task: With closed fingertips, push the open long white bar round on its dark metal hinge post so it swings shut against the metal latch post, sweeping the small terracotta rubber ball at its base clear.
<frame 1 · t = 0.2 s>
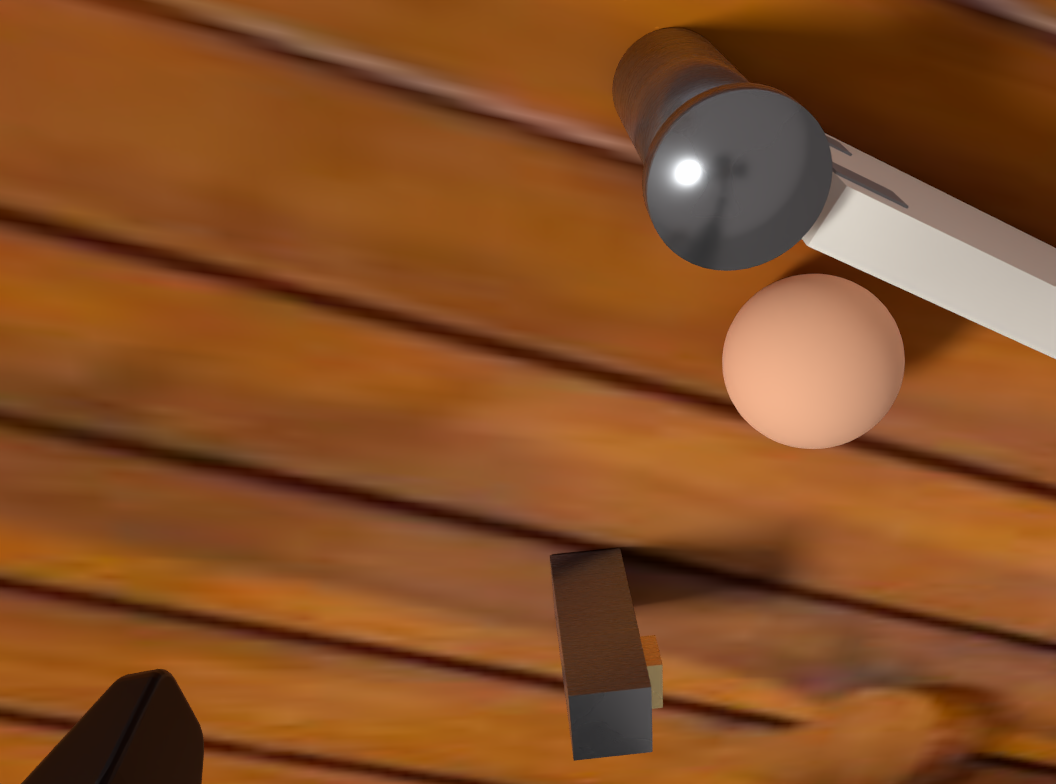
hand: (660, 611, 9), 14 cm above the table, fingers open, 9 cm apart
hinge post: (668, 86, 21), on the table
latch post: (587, 583, 28), on the table
long white bar: (1018, 280, 21), point 3 cm above the table, hinge at 60.0°
ball: (785, 320, 24), on the table
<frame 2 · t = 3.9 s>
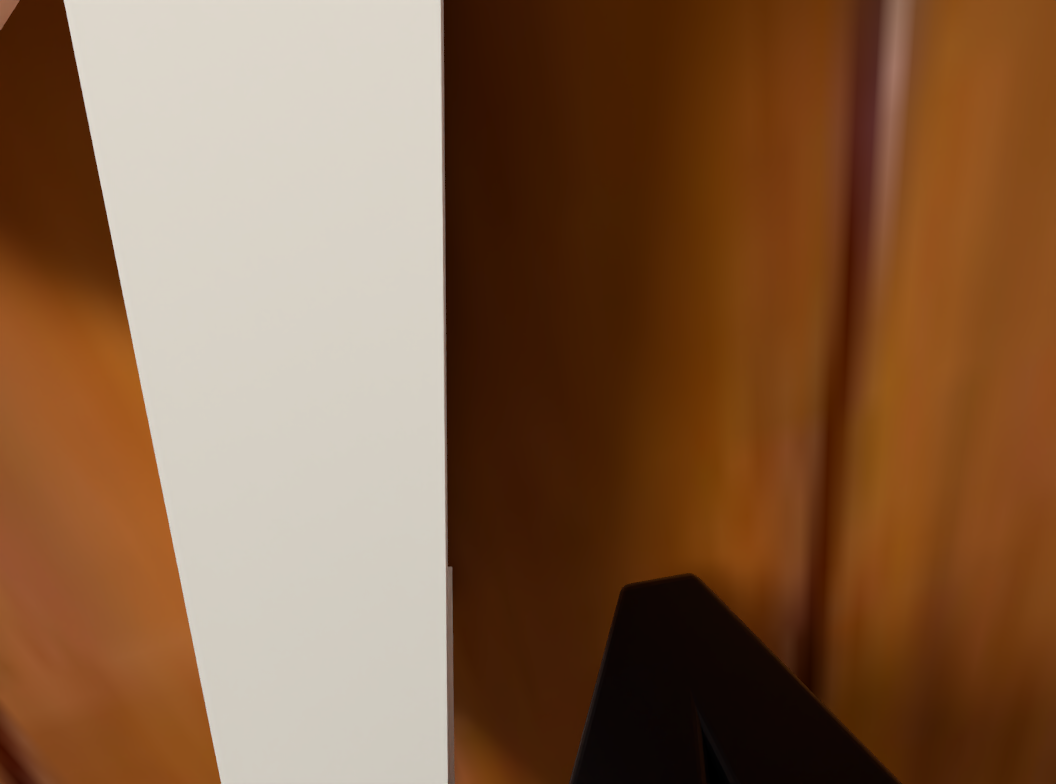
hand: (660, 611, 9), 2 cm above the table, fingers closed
long white bar: (351, 247, 6), point 3 cm above the table, hinge at 59.8°, touching gripper
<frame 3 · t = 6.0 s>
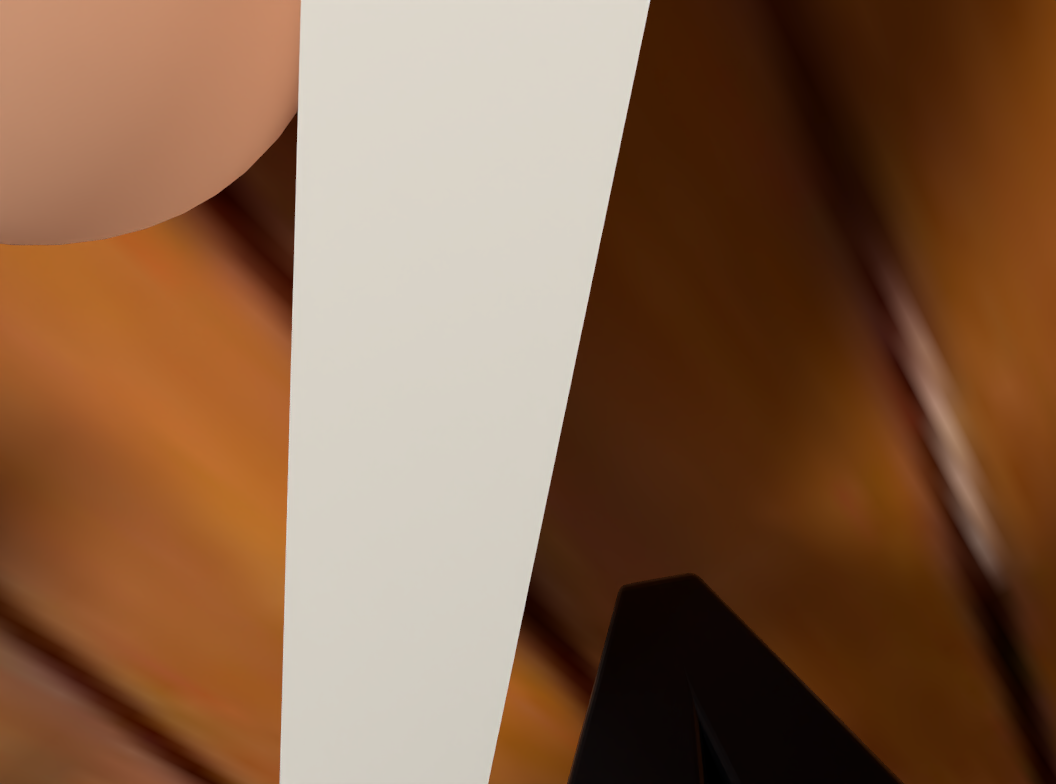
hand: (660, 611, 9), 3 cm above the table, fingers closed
long white bar: (431, 140, 6), point 3 cm above the table, hinge at 30.7°, touching gripper
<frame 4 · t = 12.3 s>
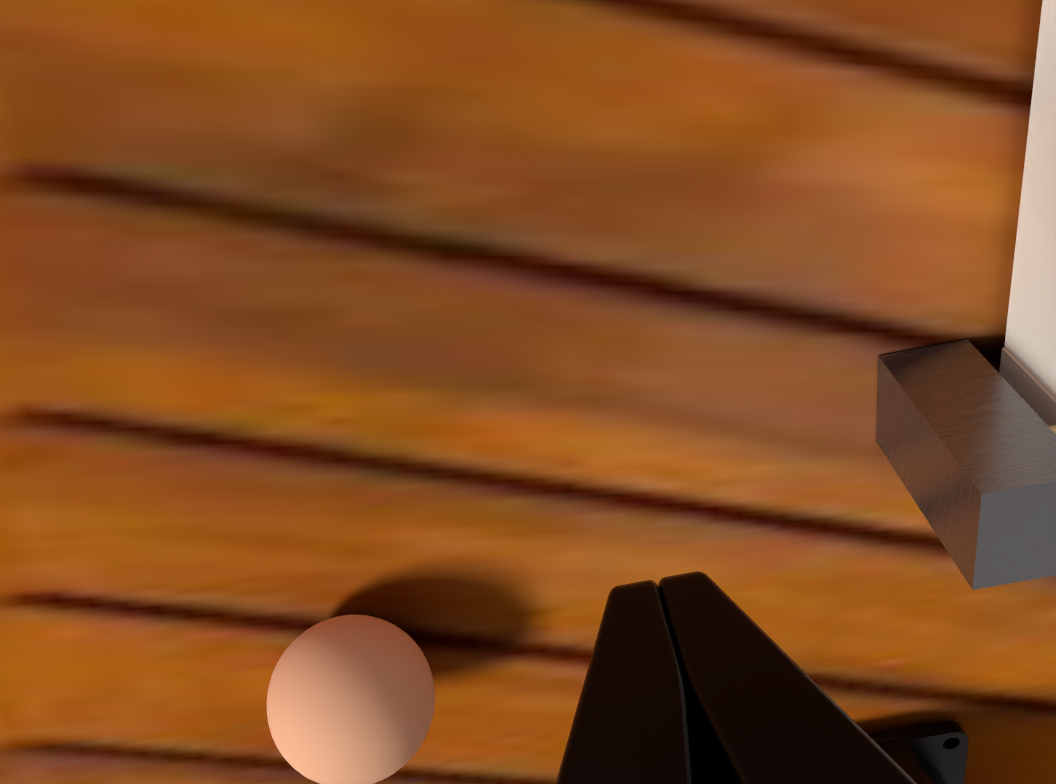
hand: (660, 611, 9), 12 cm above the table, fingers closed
latch post: (920, 392, 22), on the table
ball: (304, 677, 25), point 1 cm above the table, tilted 49°
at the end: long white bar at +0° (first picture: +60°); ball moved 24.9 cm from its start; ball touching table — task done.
